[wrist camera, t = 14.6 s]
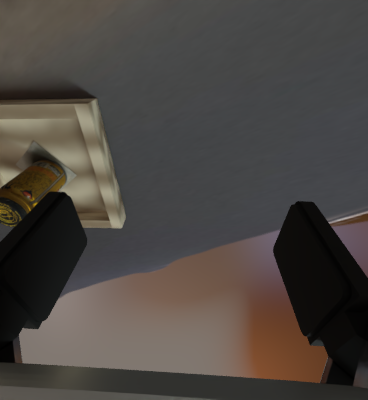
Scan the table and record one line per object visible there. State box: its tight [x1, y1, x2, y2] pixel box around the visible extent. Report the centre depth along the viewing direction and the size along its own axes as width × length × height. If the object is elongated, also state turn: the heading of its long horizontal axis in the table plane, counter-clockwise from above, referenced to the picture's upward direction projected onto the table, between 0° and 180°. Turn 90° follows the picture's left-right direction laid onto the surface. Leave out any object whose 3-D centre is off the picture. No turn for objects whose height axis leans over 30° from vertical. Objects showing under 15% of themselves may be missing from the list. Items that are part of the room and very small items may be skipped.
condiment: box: [0, 142, 77, 227], centre depth 35 cm, size 7×8×12 cm
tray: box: [0, 98, 126, 228], centre depth 39 cm, size 24×24×4 cm
